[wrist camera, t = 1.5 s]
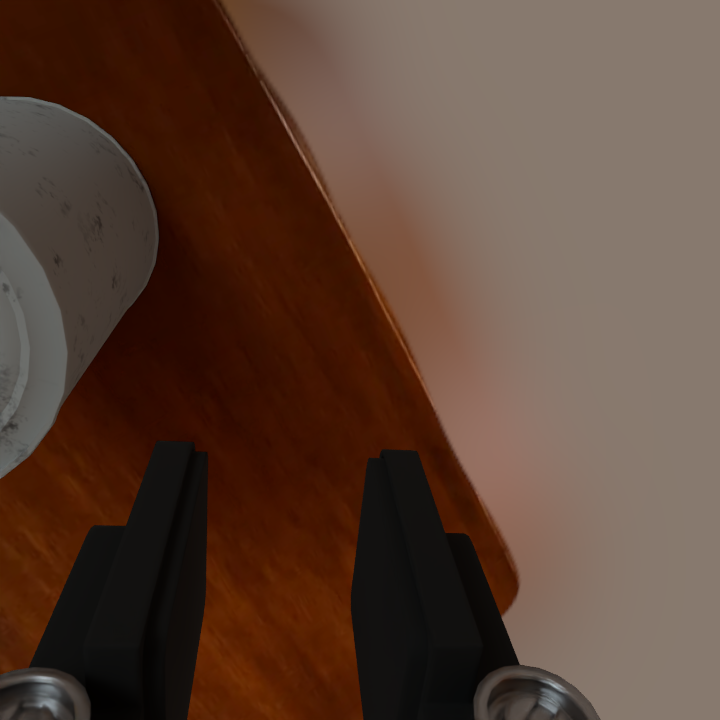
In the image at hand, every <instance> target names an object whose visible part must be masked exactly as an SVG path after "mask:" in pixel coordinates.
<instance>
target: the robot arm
mask: <svg viewBox="0 0 720 720" xmlns="http://www.w3.org/2000/svg"><path fill="white" fill-rule="evenodd" d="M207 485H208V453H207V452H195V444H194V442H178V441H157V442H156V444H155V447H154V450H153V452H152V455H151V458H150V461H149V464H148V466H147V469H146V472H145V475H144V477H143V480H142V483H141V486H140V489H139V491H138V494H137V497H136V500H135V502H134V505H133V508H132V511H131V514H130V516H129V519H128V522H127V525H126V526H101V525H94V526H93V527H92V528H91V529H90V530H89V532H88V534H87V536H86V538H85V540H84V543H83V545H82V547H81V550H80V552H79V554H78V556H77V559H76V561H75V563H74V566H73V568H72V570H71V572H70V575H69V577H68V579H67V582H66V584H65V586H64V588H63V591H62V593H61V595H60V598H59V600H58V602H57V604H56V607H55V609H54V611H53V614H52V616H51V618H50V620H49V623H48V625H47V627H46V630H45V632H44V634H43V636H42V639H41V641H40V643H39V645H38V648H37V650H36V652H35V655H34V657H33V659H32V661H31V664H30V666H29V668H27V669H20V670H14V671H10V672H8V673H5V674H2V675H0V720H187V716H188V709H189V703H190V697H191V690H192V684H193V678H194V671H195V665H196V659H197V652H198V646H199V640H200V633H201V627H202V621H203V614H204V606H205V595H206V548H207ZM351 615H352V623H353V632H354V641H355V649H356V658H357V667H358V675H359V684H360V693H361V701H362V710H363V719H364V720H600V718H599V716H598V715H597V713H596V711H595V709H594V708H593V706H592V705H591V703H590V702H589V701H588V700H587V699H586V698H585V696H584V695H583V694H581V692H579V690H578V689H577V688H576V687H574V686H573V685H571V684H570V683H568V682H567V681H565V680H564V679H562V678H561V677H559V676H558V675H555V674H553V673H550V672H548V671H545V670H543V669H540V668H536V667H530V666H524V665H520V664H519V662H518V659H517V656H516V654H515V651H514V649H513V646H512V644H511V641H510V638H509V636H508V633H507V631H506V628H505V626H504V623H503V621H502V618H501V615H500V613H499V610H498V608H497V605H496V603H495V600H494V597H493V595H492V592H491V590H490V587H489V585H488V582H487V580H486V577H485V574H484V572H483V569H482V567H481V564H480V562H479V559H478V556H477V554H476V551H475V549H474V546H473V544H472V542H471V540H470V538H469V536H468V535H466V534H463V533H445V531H444V528H443V525H442V522H441V519H440V516H439V514H438V511H437V508H436V505H435V502H434V499H433V496H432V493H431V490H430V487H429V484H428V481H427V478H426V475H425V472H424V469H423V466H422V463H421V461H420V458H419V455H418V453H417V451H412V450H386V449H382V451H381V453H380V457H379V458H369V459H368V462H367V469H366V477H365V485H364V493H363V501H362V509H361V517H360V525H359V533H358V541H357V549H356V557H355V565H354V573H353V582H352V590H351Z"/></svg>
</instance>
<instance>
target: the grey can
mask: <svg viewBox="0 0 720 720" xmlns="http://www.w3.org/2000/svg"><path fill="white" fill-rule="evenodd" d="M158 242H159V231H158V221H157V211H156V208H155V205H154V202H153V199H152V196H151V193H150V190H149V187H148V185H147V183H146V181H145V179H144V178H143V176H142V174H141V173H140V171H139V169H138V167H137V166H136V164H135V162H134V161H133V159H132V158H131V157H130V156H129V155H128V154H127V152H126V151H125V150H124V149H123V148H122V147H121V146H120V145H119V143H118V142H117V141H116V140H115V139H114V138H113V137H112V136H111V135H109V134H108V133H107V132H105V131H104V130H103V129H101V128H100V127H99V126H97V125H96V124H95V123H93V122H92V121H91V120H90V119H88V118H86V117H84V116H82V115H80V114H78V113H76V112H74V111H72V110H70V109H68V108H65V107H63V106H61V105H59V104H55V103H51V102H47V101H43V100H39V99H34V98H30V97H0V478H2V477H3V476H5V475H6V474H7V473H8V472H10V471H11V470H12V469H14V468H15V467H16V466H17V465H19V464H20V463H21V462H22V461H24V460H25V459H26V458H27V457H29V456H30V455H31V454H32V453H33V451H34V450H35V449H36V447H37V446H38V445H39V443H40V442H41V441H42V439H43V438H44V436H45V435H46V434H47V432H48V431H49V430H50V428H51V427H52V426H53V424H54V423H55V420H56V418H57V415H58V412H59V410H60V407H61V406H62V404H63V403H64V401H65V400H66V398H67V397H68V395H69V394H70V392H71V391H72V389H73V388H74V387H75V385H76V384H77V382H78V381H79V379H80V378H81V376H82V375H83V373H84V372H85V370H86V369H87V367H88V366H89V365H90V363H91V362H92V360H93V359H94V357H95V356H96V354H97V353H98V351H99V350H100V348H101V347H102V346H103V344H104V343H105V341H106V340H107V338H108V337H109V335H110V334H111V332H112V331H113V329H114V328H115V326H116V325H117V324H118V322H119V321H120V319H121V318H122V316H123V315H124V313H125V312H126V310H127V309H128V308H129V307H130V306H131V305H132V304H133V303H134V302H135V300H136V299H137V298H138V296H139V295H140V293H141V292H142V291H143V289H144V288H145V287H146V285H147V283H148V280H149V278H150V276H151V273H152V271H153V268H154V266H155V263H156V257H157V250H158Z"/></svg>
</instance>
